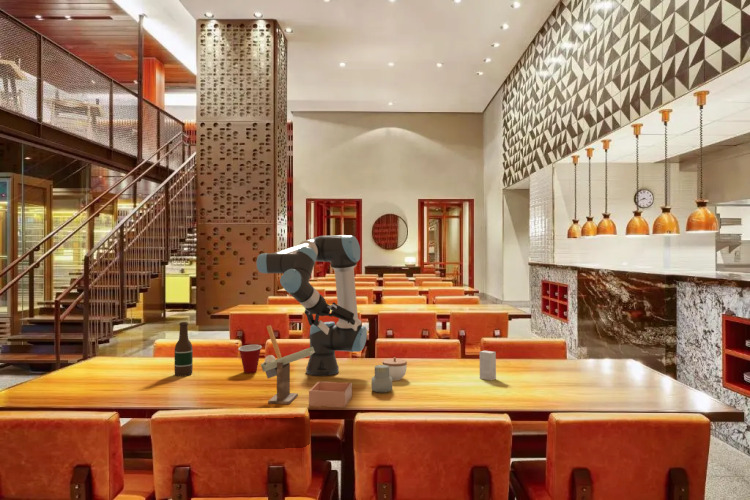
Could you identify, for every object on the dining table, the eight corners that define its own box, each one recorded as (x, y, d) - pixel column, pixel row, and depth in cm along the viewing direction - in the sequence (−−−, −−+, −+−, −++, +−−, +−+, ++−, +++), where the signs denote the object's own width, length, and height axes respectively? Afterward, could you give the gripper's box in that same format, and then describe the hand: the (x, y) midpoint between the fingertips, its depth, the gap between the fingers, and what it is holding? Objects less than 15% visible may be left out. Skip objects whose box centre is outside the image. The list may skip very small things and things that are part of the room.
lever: (265, 380, 190) (248, 333, 191) (274, 373, 200) (258, 329, 201) (312, 363, 187) (296, 316, 188) (319, 357, 197) (303, 312, 198)
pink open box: (308, 406, 184) (308, 390, 184) (317, 395, 198) (317, 381, 198) (345, 407, 182) (345, 392, 182) (351, 397, 196) (351, 382, 196)
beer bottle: (196, 373, 236) (196, 321, 236) (184, 377, 228) (184, 323, 229) (182, 372, 238) (182, 320, 238) (170, 375, 231) (170, 323, 231)
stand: (268, 403, 188) (268, 362, 188) (277, 395, 198) (277, 356, 199) (289, 404, 186) (289, 363, 187) (297, 396, 197) (297, 357, 198)
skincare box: (496, 379, 224) (496, 351, 224) (491, 380, 221) (491, 353, 221) (484, 376, 228) (484, 350, 228) (479, 378, 225) (479, 351, 225)
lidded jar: (405, 382, 218) (404, 360, 218) (380, 381, 221) (380, 359, 221) (408, 376, 229) (408, 355, 229) (385, 375, 231) (385, 354, 231)
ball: (262, 365, 193) (262, 354, 193) (270, 363, 196) (271, 353, 196) (268, 367, 190) (269, 356, 190) (277, 366, 193) (277, 355, 193)
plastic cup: (233, 373, 235) (233, 347, 235) (247, 368, 245) (247, 343, 245) (252, 375, 231) (252, 349, 231) (266, 370, 241) (266, 345, 241)
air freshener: (372, 387, 210) (372, 363, 210) (392, 387, 210) (392, 363, 210) (371, 394, 199) (371, 369, 199) (392, 394, 199) (392, 369, 199)
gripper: (282, 313, 191) (314, 341, 204) (337, 304, 178) (367, 334, 192) (288, 296, 195) (318, 324, 208) (342, 287, 183) (370, 318, 196)
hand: (342, 329), depth 200 cm, fingers open, 13 cm apart
